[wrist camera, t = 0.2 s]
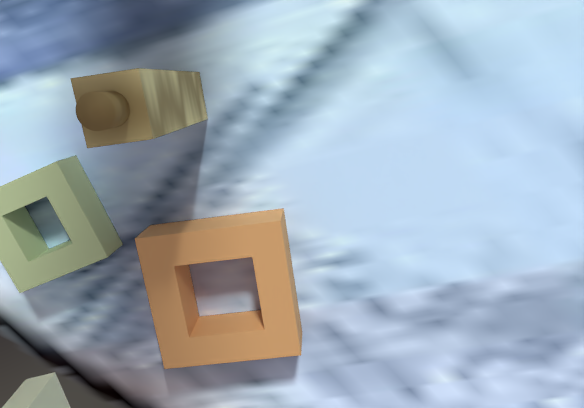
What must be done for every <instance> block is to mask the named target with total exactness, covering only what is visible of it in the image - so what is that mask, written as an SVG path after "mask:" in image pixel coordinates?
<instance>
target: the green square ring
mask: <svg viewBox="0 0 584 408" xmlns="http://www.w3.org/2000/svg"><path fill="white" fill-rule="evenodd" d="M46 196H47V198H48V200H49V201H50V203H51V205H52V207H53V209H54V210H55V212H56V214H57V216H58V218H59V219H60V221H61V223H62V225H63V227H64V228H65V230H66V232H67V234H68V236H69V238H70V239H71V240H69V241H67V242H64V243H62V244H60V245H57V246H55V247H53V248H50V249H49V248H48V246H47V245H46V243H45V241H44V239H43V238H42V236H41V234H40V232H39V231H38V229H37V227H36V225H35V223H34V222H33V220H32V218H31V216H30V215H29V213H28V211H27V209H26V208H25V206H26V205H28V204H30V203H33V202H35V201H37V200H39V199H42V198H44V197H46ZM122 245H123V244H122V242H121V240H120V238H119V236H118V234H117V232H116V230H115V228H114V227H113V225H112V223H111V221H110V219H109V217H108V215H107V213H106V211H105V210H104V208H103V206H102V204H101V202H100V200H99V198H98V196H97V194H96V192H95V191H94V189H93V187H92V185H91V183H90V181H89V179H88V177H87V175H86V174H85V172H84V170H83V168H82V166H81V164H80V162H79V160H78V158H77V156H76V155H75V156H72V157H69V158H66V159H63V160H60V161H56V162H54V163H52V164H50V165H47V166H45V167H43V168H41V169H39V170H36V171H34V172H32V173H30V174H27V175H25V176H23V177H21V178H18V179H16V180H14V181H12V182H9V183H7V184H5V185H3V186H0V261H1V262H2V264H3V266H4V267H5V269H6V271H7V272H8V274H9V276H10V277H11V279H12V281H13V282H14V284H15V286H16V288H17V289H18V291H19V293H21V292H24V291H26V290H29V289H31V288H34V287H36V286H39V285H41V284H43V283H46V282H48V281H51V280H53V279H56V278H58V277H61V276H63V275H65V274H68V273H70V272H73V271H75V270H78V269H80V268H83V267H85V266H88V265H90V264H92V263H95V262H97V261H100V260H102V259H105V258H107V257H109V256H110V255H111V254H112V253H113V252H115V251H116V250H117V249H118V248H119V247H120V246H122Z"/></svg>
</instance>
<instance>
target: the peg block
mask: <svg viewBox="0 0 584 408" xmlns="http://www.w3.org/2000/svg"><path fill="white" fill-rule="evenodd" d="M71 83H72V87H73V91H74V95H75V99H76V103H77V104H76V115H77V118H78V120H79V121H80V123H81V124H82V128H83V132H84V136H85V141H86V145H87V148H92V147H100V146H107V145H114V144H121V143H128V142H135V141H143V140H150V139H155V138H157V137H160V136H163V135H166V134H168V133H171V132H174V131H176V130H179V129H182V128H185V127H187V126H190V125H193V124H196V123H198V122H201V121H204V120H207V119H208V118H207V112H206V107H205V101H204V95H203V90H202V84H201V79H200V73H199V72H188V71H173V70H157V69H142V68H137V69H130V70H124V71H117V72H111V73H104V74H98V75H91V76H84V77H78V78H71Z"/></svg>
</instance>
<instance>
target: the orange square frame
mask: <svg viewBox="0 0 584 408" xmlns="http://www.w3.org/2000/svg"><path fill="white" fill-rule="evenodd" d="M135 243H136V247H137V251H138V256H139V260H140V264H141V269H142V273H143V278H144V282H145V286H146V291H147V295H148V299H149V304H150V308H151V312H152V317H153V321H154V326H155V330H156V334H157V339H158V343H159V347H160V352H161V356H162V360H163V365H164V369H169V368H179V367H189V366H199V365H209V364H219V363H229V362H239V361H249V360H259V359H268V358H278V357H288V356H298V355H301V347H302V328H301V321H300V314H299V308H298V301H297V294H296V288H295V281H294V274H293V268H292V261H291V254H290V248H289V241H288V235H287V228H286V221H285V215H284V208H283V209H275V210H267V211H259V212H251V213H243V214H236V215H228V216H220V217H212V218H204V219H196V220H188V221H180V222H172V223H164V224H156V225H150V226H149V227H147V228H146V229H145V230H144V231H143V232H142V233H141V234H139V235H138V236H137V237H136V238H135ZM248 257H252V259H253V264H254V270H255V276H256V282H257V288H258V294H259V300H260V306H261V310H256V311H247V312H237V313H228V314H219V315H210V316H201V317H199V313H198V308H197V303H196V298H195V293H194V288H193V283H192V279H191V274H190V269H189V264H197V263H205V262H214V261H222V260H231V259H239V258H248Z"/></svg>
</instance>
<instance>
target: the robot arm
mask: <svg viewBox="0 0 584 408" xmlns="http://www.w3.org/2000/svg"><path fill="white" fill-rule="evenodd" d="M2 408H70V405H69V403H68V401H67V398H66V396H65V394H64V392H63V389H62V387H61V385H60V383H59V380H58V378H57V376H56V373H55V372H54V373H50V374H46V375H42V376H38V377H33V378H30V379H26V380H25V381H24V382H23V383H22V384H21V386H20V387H19V388H18V389H17V391H16V392H15V393H14V394H13V395H12V397H11V398H10V399H9V400H8V401H7V402H6V404H5V405H4V406H3V407H2Z"/></svg>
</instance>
